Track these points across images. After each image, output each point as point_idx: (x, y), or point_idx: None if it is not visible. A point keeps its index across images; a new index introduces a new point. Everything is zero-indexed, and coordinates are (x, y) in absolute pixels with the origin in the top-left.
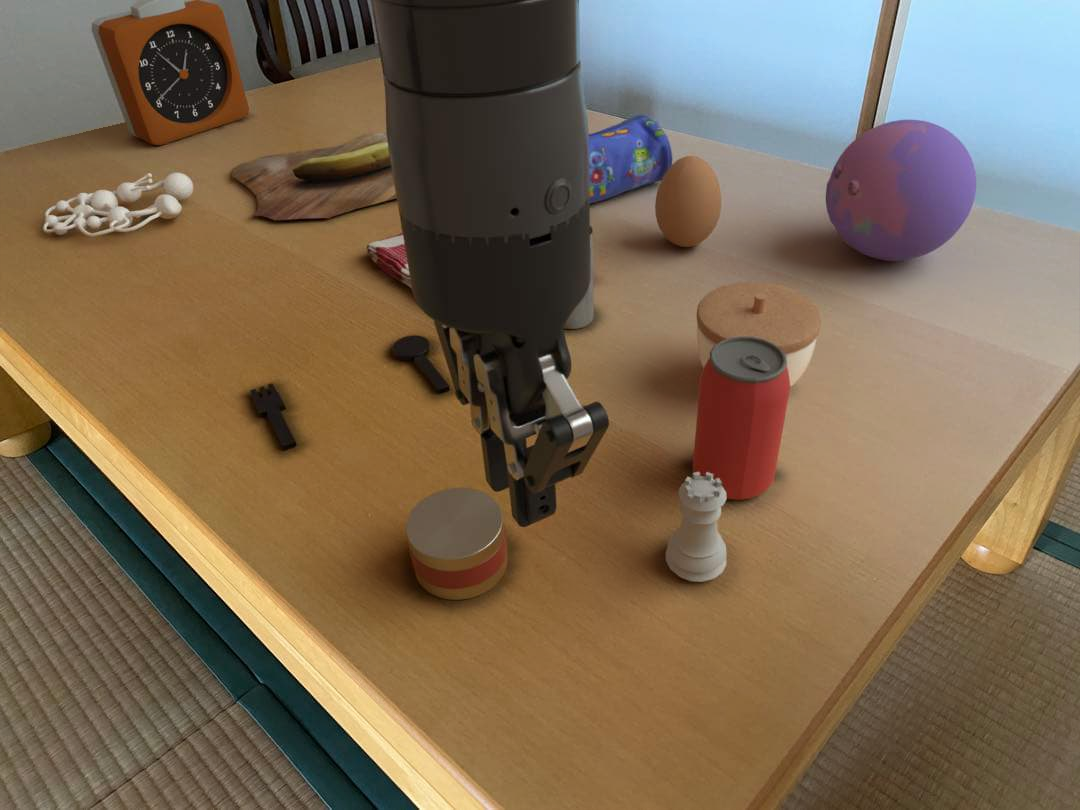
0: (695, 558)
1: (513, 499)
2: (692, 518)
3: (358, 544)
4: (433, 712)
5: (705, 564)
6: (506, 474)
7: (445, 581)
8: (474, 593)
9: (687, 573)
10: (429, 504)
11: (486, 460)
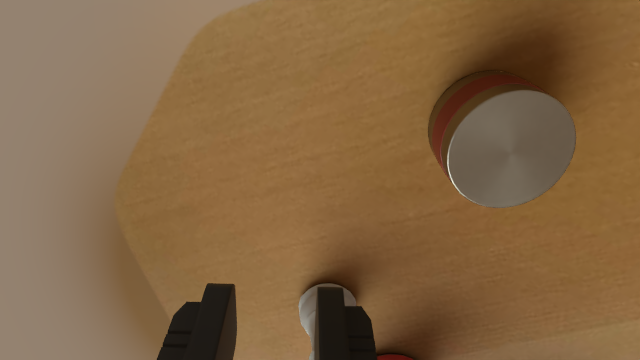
0: (312, 311)
1: (203, 328)
2: None
3: (605, 30)
4: (328, 4)
5: (304, 312)
6: (316, 330)
7: (456, 98)
8: (432, 117)
9: (314, 292)
10: (561, 140)
11: (331, 340)
